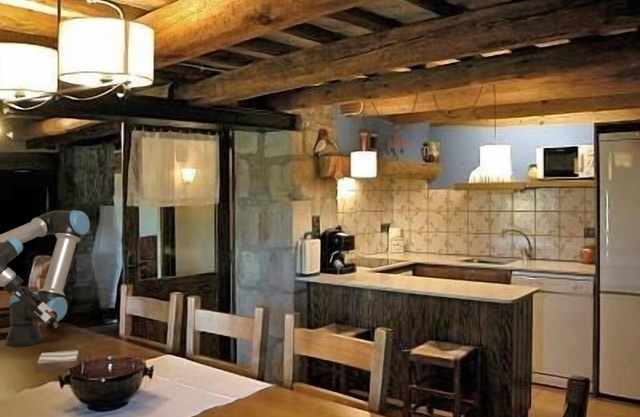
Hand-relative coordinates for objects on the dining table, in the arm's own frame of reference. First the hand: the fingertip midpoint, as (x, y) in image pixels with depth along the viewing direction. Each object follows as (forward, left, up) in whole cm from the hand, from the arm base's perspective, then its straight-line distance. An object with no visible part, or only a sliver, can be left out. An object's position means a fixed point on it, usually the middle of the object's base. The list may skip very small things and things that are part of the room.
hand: (50, 316), depth 257 cm
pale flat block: (+14, +4, -17) cm, 23 cm away
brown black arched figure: (0, -1, -4) cm, 5 cm away
